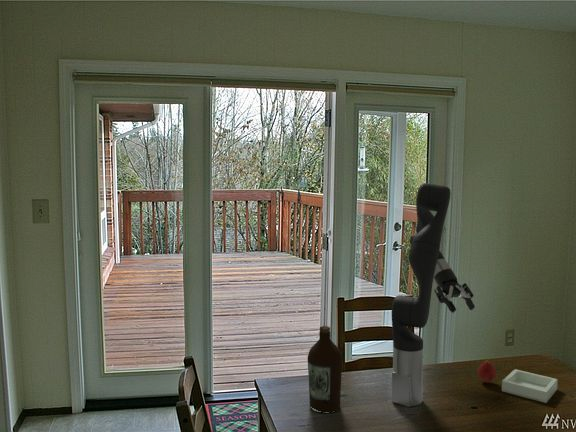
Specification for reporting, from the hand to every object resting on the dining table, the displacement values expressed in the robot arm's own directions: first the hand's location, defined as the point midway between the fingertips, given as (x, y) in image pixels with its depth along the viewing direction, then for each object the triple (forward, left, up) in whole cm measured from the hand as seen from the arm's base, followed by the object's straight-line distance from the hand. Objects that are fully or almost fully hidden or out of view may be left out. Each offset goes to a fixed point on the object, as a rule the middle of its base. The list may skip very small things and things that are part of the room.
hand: (463, 310), depth 178 cm
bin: (-2, -23, -23) cm, 33 cm away
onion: (-5, -10, -23) cm, 26 cm away
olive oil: (-56, +21, -23) cm, 64 cm away
